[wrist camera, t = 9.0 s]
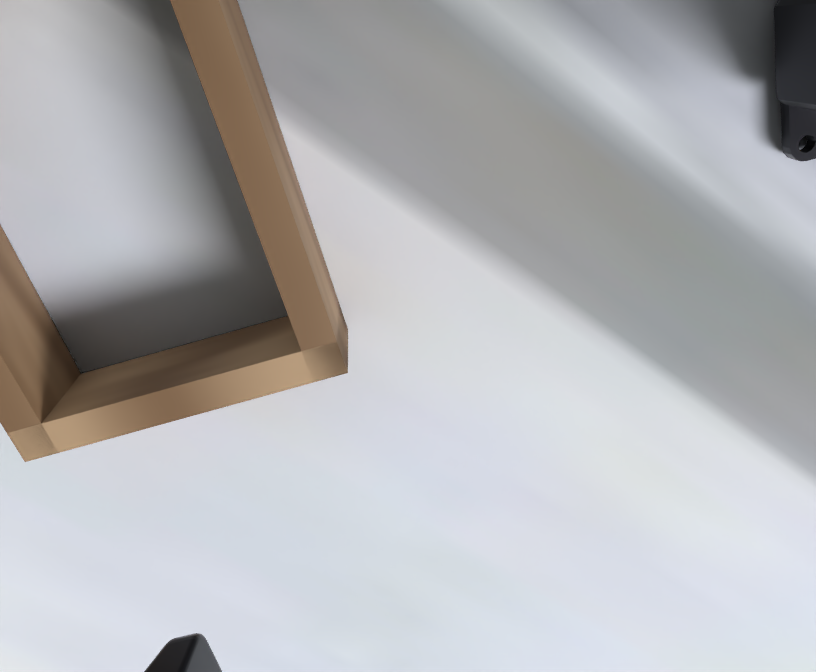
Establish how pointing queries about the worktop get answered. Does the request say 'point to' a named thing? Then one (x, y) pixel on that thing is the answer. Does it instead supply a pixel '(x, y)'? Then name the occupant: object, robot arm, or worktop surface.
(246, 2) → the worktop surface
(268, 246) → the dock
